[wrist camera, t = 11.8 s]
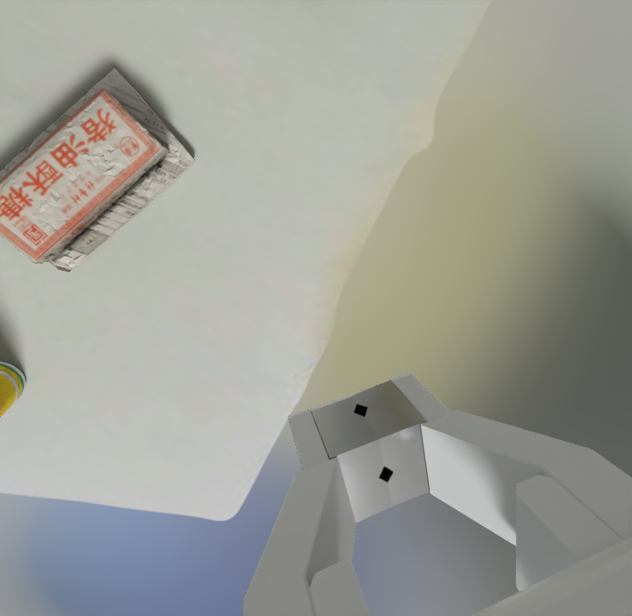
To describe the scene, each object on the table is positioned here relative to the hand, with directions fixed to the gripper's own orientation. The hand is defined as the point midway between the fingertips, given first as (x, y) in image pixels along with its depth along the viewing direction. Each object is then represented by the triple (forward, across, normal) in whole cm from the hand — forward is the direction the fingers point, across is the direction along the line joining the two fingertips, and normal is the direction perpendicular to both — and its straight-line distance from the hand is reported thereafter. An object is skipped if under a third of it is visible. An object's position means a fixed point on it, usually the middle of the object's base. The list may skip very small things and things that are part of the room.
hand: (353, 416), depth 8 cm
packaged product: (+35, +13, -9) cm, 38 cm away
